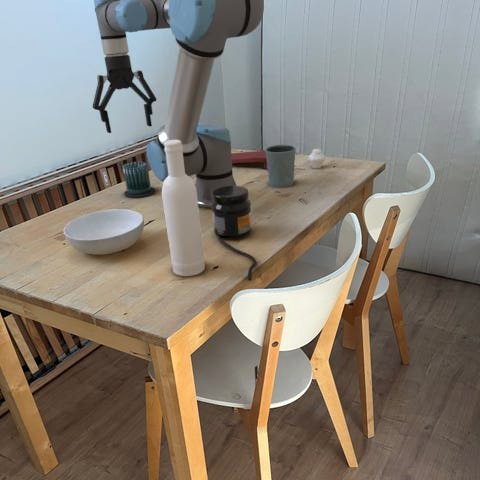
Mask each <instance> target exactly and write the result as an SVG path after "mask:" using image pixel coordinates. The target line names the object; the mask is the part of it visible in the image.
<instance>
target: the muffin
mask: <svg viewBox="0 0 480 480" xmlns="http://www.w3.org/2000/svg"><path fill="white" fill-rule="evenodd" d="M325 160H326V156H325V155H324V154H323V151H322V149H320V148H314V149H312V151H311V153H310V155H309V156H308V162H309V164H310V166H311V169H315V170H316V169H317V170H318V169H321V168H322V166H323V164H324V162H325Z"/></svg>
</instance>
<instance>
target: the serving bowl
mask: <svg viewBox="0 0 480 480" xmlns="http://www.w3.org/2000/svg"><path fill="white" fill-rule="evenodd" d="M144 227H145V218H144V216H143V214H141V213H140V212H138V211H136V210H133V209H125V208H110V209H103V210H97V211H93V212H89V213H86V214H83V215H80V216H78V217H75V218H74V219H72V220H70V221H69V222H67V224H66V225H65V226H64V227H63V231H62V232H63V235H64V237H65V239H66V241H67V242H68V244H69V245H70V246H71V247H72V248H74V249H75V250H76V251H78V252H81V253H83V254H87V255H95V256H96V255H101V256H102V255H108V254H109V255H110V254H113V253H117V252H121V251H123V250H126V249H128V248H130V247H131V246H133V245H134V244H136V243H137V241H138V240H139V239H140V237H141V236H142V234H143V233H144Z"/></svg>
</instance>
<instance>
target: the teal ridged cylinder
mask: <svg viewBox="0 0 480 480" xmlns="http://www.w3.org/2000/svg"><path fill="white" fill-rule="evenodd" d="M122 171H123V177H124V183H125V186H126V190H127V193H129V194H133V195H138V194H144V193H148V192H150V191H151V187H152V185H151V178H150V172H149V164H148V163H147V162H146V161H145V162H144V161H134V162H133V161H131V162H127V163H125V164H123V165H122Z"/></svg>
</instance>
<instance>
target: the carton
mask: <svg viewBox="0 0 480 480" xmlns="http://www.w3.org/2000/svg"><path fill="white" fill-rule="evenodd" d="M231 157H232V164H239V163H240V164H242V163H254V162H255V163H263V168H264V170H268V169H267V160H266V153H265V149H264V150H255V151H254V150H253V151H243V152H231Z"/></svg>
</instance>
